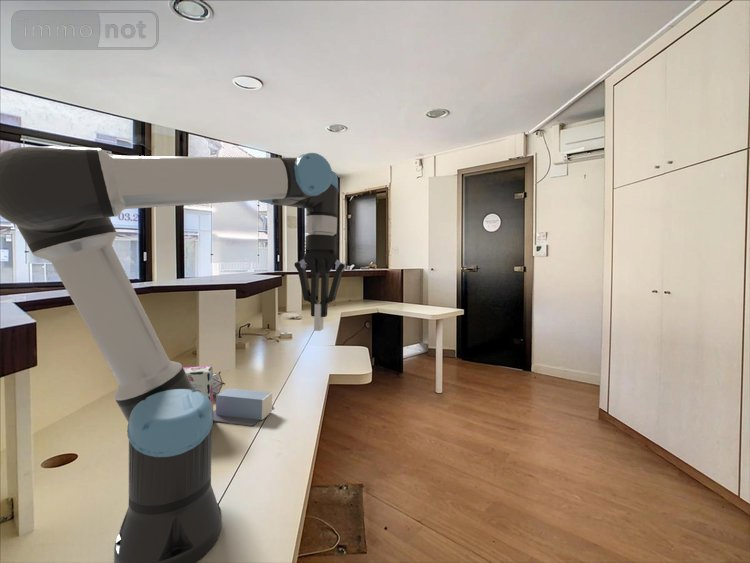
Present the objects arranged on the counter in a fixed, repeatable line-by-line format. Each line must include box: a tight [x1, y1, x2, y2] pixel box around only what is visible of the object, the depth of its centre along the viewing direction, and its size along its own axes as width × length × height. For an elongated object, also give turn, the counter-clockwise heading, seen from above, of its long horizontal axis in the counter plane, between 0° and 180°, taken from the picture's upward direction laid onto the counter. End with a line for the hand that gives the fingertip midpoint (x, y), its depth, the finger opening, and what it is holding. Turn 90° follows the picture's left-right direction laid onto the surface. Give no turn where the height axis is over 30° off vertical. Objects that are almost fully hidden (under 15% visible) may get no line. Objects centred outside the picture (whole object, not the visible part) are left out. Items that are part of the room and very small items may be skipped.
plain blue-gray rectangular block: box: [215, 388, 273, 421], centre depth 103 cm, size 6×6×15 cm
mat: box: [213, 405, 274, 427], centre depth 104 cm, size 13×16×1 cm
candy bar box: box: [182, 365, 214, 412], centre depth 94 cm, size 11×5×16 cm, turn 106°
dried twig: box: [213, 371, 226, 396], centre depth 117 cm, size 9×8×10 cm
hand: (318, 329), depth 84 cm, fingers closed
